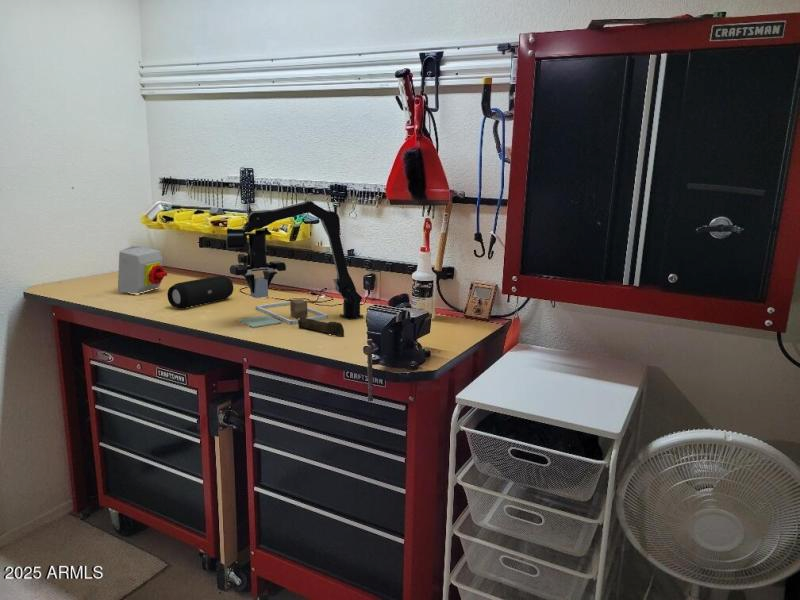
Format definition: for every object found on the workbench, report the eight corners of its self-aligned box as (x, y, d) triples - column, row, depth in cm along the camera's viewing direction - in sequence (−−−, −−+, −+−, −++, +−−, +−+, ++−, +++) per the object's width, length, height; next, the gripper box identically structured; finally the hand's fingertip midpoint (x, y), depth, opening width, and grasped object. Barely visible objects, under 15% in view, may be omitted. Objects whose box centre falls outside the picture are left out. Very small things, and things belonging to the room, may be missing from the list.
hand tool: (297, 329, 202) (296, 316, 201) (305, 326, 205) (305, 313, 204) (337, 339, 191) (337, 325, 190) (346, 336, 194) (346, 323, 193)
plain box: (307, 317, 217) (307, 301, 216) (296, 319, 214) (296, 303, 213) (301, 314, 220) (301, 299, 219) (290, 316, 218) (290, 300, 216)
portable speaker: (183, 311, 222) (181, 285, 220) (166, 308, 227) (164, 282, 225) (235, 299, 243) (234, 276, 240) (219, 296, 248) (218, 273, 246)
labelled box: (268, 296, 206) (267, 279, 205) (256, 298, 204) (255, 280, 202) (262, 294, 210) (261, 277, 208) (250, 295, 207) (249, 278, 206)
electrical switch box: (147, 301, 245) (150, 255, 240) (117, 294, 248) (119, 247, 243) (170, 294, 259) (172, 250, 254) (140, 287, 262) (143, 243, 257)
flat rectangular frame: (328, 318, 216) (328, 315, 216) (290, 324, 207) (290, 321, 206) (291, 303, 237) (291, 300, 237) (255, 309, 227) (255, 306, 227)
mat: (281, 323, 208) (281, 321, 208) (252, 328, 201) (252, 326, 201) (267, 316, 216) (267, 315, 216) (239, 321, 210) (238, 319, 209)
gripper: (271, 243, 215) (272, 285, 218) (222, 247, 203) (224, 291, 207) (286, 247, 206) (287, 290, 210) (235, 251, 195) (237, 297, 198)
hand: (259, 292), depth 206 cm, fingers closed on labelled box, 4 cm apart
